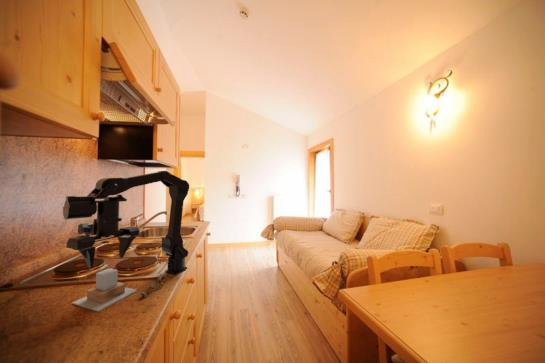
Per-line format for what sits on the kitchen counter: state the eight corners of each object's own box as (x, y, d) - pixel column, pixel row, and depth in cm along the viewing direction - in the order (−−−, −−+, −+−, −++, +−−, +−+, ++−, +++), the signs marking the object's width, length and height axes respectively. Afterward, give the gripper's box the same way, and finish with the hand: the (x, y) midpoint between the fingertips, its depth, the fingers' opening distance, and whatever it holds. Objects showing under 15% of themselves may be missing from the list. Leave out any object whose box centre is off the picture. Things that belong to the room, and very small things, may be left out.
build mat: (113, 285, 74) (113, 284, 74) (137, 291, 70) (137, 290, 70) (72, 303, 62) (72, 302, 62) (98, 311, 59) (98, 310, 59)
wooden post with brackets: (166, 283, 74) (162, 274, 73) (148, 302, 68) (144, 293, 66) (162, 282, 75) (158, 273, 73) (144, 301, 68) (140, 292, 66)
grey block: (109, 282, 69) (109, 268, 69) (117, 284, 68) (117, 270, 68) (95, 288, 65) (96, 273, 65) (104, 290, 64) (104, 275, 64)
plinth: (110, 288, 71) (110, 280, 71) (124, 292, 68) (125, 283, 69) (87, 299, 64) (87, 290, 64) (101, 304, 62) (102, 294, 62)
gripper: (120, 210, 78) (118, 251, 78) (55, 218, 60) (54, 270, 60) (141, 212, 74) (140, 254, 74) (79, 220, 57) (77, 276, 56)
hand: (106, 262), depth 66 cm, fingers open, 9 cm apart
